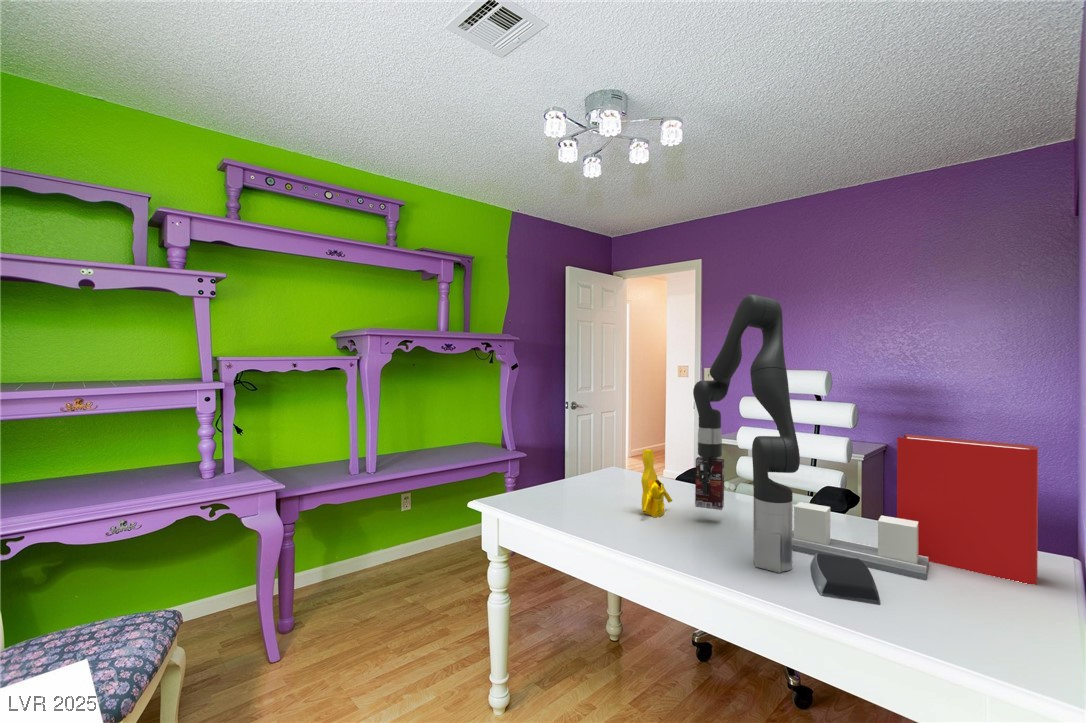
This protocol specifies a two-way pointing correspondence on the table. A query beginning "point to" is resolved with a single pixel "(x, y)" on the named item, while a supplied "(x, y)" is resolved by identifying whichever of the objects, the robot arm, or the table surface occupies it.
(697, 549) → the table surface
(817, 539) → the board
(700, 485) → the supplement box
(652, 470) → the figure statuette
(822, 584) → the external hard drive
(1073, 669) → the table surface
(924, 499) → the book
